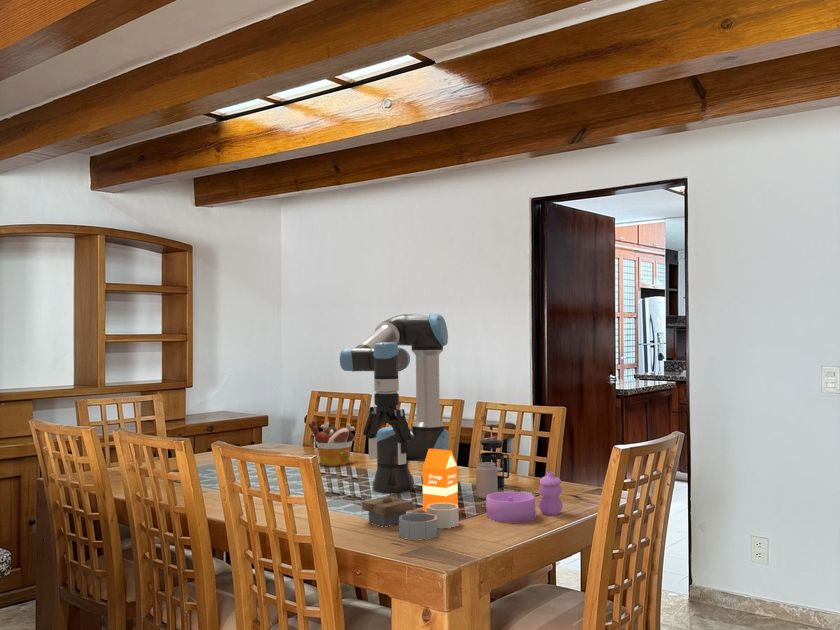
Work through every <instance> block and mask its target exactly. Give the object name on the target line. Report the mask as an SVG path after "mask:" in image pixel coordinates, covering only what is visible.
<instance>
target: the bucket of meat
mask: <svg viewBox="0 0 840 630" xmlns="http://www.w3.org/2000/svg"><path fill="white" fill-rule="evenodd" d="M329 425H330V422H328V421H327V422H325V424H321V426H320V428H321V429H324V430H322V431H319V427H318V423H317V421H316V420H315V419H313V420H311V422H309V423H308V427H309V428H310V430H311V432H312V433H313V435H314V437H315V439H316V440H315V444H316V449H317V453H318V457H319V461H320V463H321V464H322V465H323V466H324V465H327V466H326V467H340V466H339V465H342V466H345V465H347V464H348V462H349V459H350V454H351V451H352V447H353V446H352V445H353V441H354V438H355V436H356V435H355V434H354V433H353V432H352V431H355V430H356V428H355V427H354V426H351V424H350V423H348V422H347V423H346V427H343V426H339V427H338V429H337V428H336V427H335V425H331V426H329Z"/></svg>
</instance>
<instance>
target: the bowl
mask: <svg viewBox="0 0 840 630" xmlns="http://www.w3.org/2000/svg"><path fill="white" fill-rule="evenodd" d="M426 513H429V514H433V515H437V528H450V529H452V528H451V527H454V528H456V527H455V526H458V527H460V525H459V523H460V521H459V504H458V505H456V504H452V503H434V504H430V505H427V512H426Z"/></svg>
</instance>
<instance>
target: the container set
mask: <svg viewBox="0 0 840 630" xmlns="http://www.w3.org/2000/svg"><path fill="white" fill-rule="evenodd" d="M554 473H555V472H554V471H546V475H544V476H543V477H541V478H540V480H539V483H540V485H539V487H538V492H539V494H540V495H541V496H542V497H541V499H540V500H539V501H538V502H539V503H538V508H539V510H540V513H542V514H543V515H545V514H546V515H545V516H558V515H559V514H560V513H561V512H562V510H563V508H564V507H563V506H564V505H563V502H562V500H561V498H560V497H559V496H561V494H562V493H563V489H562V487H561V483H562V481H561V479H560V478H559V477H557V476H555V475H554ZM485 500H486V504H485V505H486V506H485V507H486V518H487V520H490V519H491V520H490V521H493V520H494V521H493V522H497V521H498V522H497V523H504V522H512V523H511V524H517V523H516V522H521V523H528V522H531V521H533V519H534V520H535V519H536V518H535V517H536V496H535V495H534V494H531V493H529V492H523V491H522V492H521V491H498V492H496V493H491V494H489V495H487V496H486V499H485ZM557 514H558V515H557ZM527 521H528V522H527ZM514 522H515V523H514Z"/></svg>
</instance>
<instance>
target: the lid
mask: <svg viewBox="0 0 840 630" xmlns="http://www.w3.org/2000/svg"><path fill="white" fill-rule="evenodd" d="M361 504H362V507H361V508H362V509H361V510H362V511H365V512H368V513H369V512H373V513H377V514H381V515H384V516H387V515H391V514H396V513H400V512H404V511H406V512H407V511H411V510H413V509H414V507H413V506H414V505H413V504H414V501H413V500H410V499H409V500H408V499H405V498H404V499H403V498H401V497H400V498H399V497H396V496H391V495H387V496H383V497H378V498H374V499H368V500H364V501H361Z"/></svg>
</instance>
